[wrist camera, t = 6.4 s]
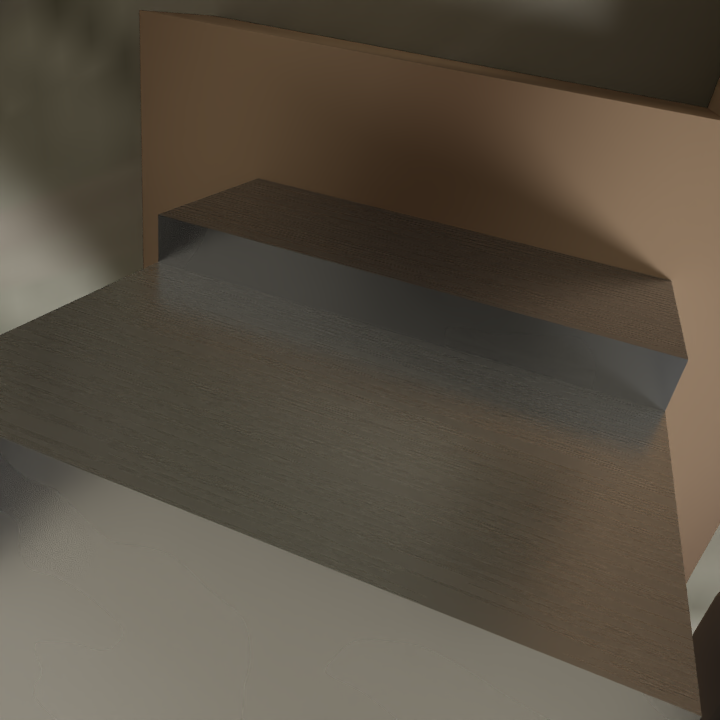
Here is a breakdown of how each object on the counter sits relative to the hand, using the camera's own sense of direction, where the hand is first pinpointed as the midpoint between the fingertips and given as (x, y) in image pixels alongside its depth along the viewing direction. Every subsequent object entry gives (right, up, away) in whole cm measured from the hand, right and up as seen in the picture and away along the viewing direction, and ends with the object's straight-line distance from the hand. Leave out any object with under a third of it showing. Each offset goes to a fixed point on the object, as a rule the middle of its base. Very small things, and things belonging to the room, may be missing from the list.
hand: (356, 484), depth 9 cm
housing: (+1, +1, +2) cm, 2 cm away
